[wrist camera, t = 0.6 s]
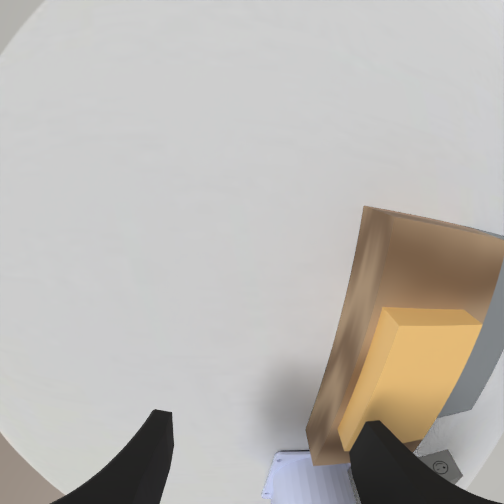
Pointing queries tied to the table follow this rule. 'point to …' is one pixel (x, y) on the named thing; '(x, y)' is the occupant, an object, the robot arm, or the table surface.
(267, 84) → the table surface
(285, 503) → the robot arm
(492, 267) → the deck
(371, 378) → the yellow orange block
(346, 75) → the table surface
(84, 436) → the table surface
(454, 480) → the dice cube
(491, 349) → the mat
